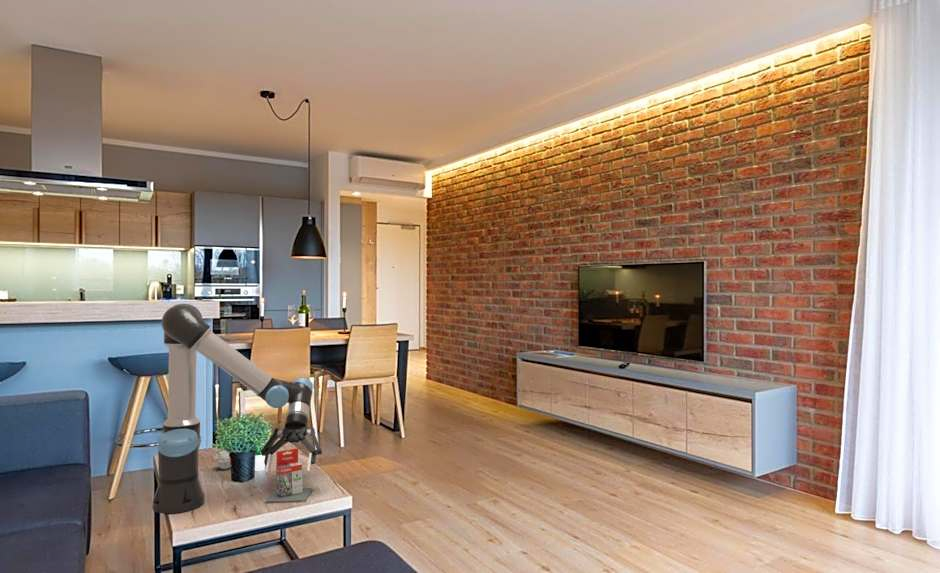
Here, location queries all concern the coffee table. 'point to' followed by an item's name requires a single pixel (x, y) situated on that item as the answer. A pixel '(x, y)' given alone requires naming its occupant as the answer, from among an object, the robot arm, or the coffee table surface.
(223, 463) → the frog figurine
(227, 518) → the coffee table surface
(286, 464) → the ink box
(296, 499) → the mat
